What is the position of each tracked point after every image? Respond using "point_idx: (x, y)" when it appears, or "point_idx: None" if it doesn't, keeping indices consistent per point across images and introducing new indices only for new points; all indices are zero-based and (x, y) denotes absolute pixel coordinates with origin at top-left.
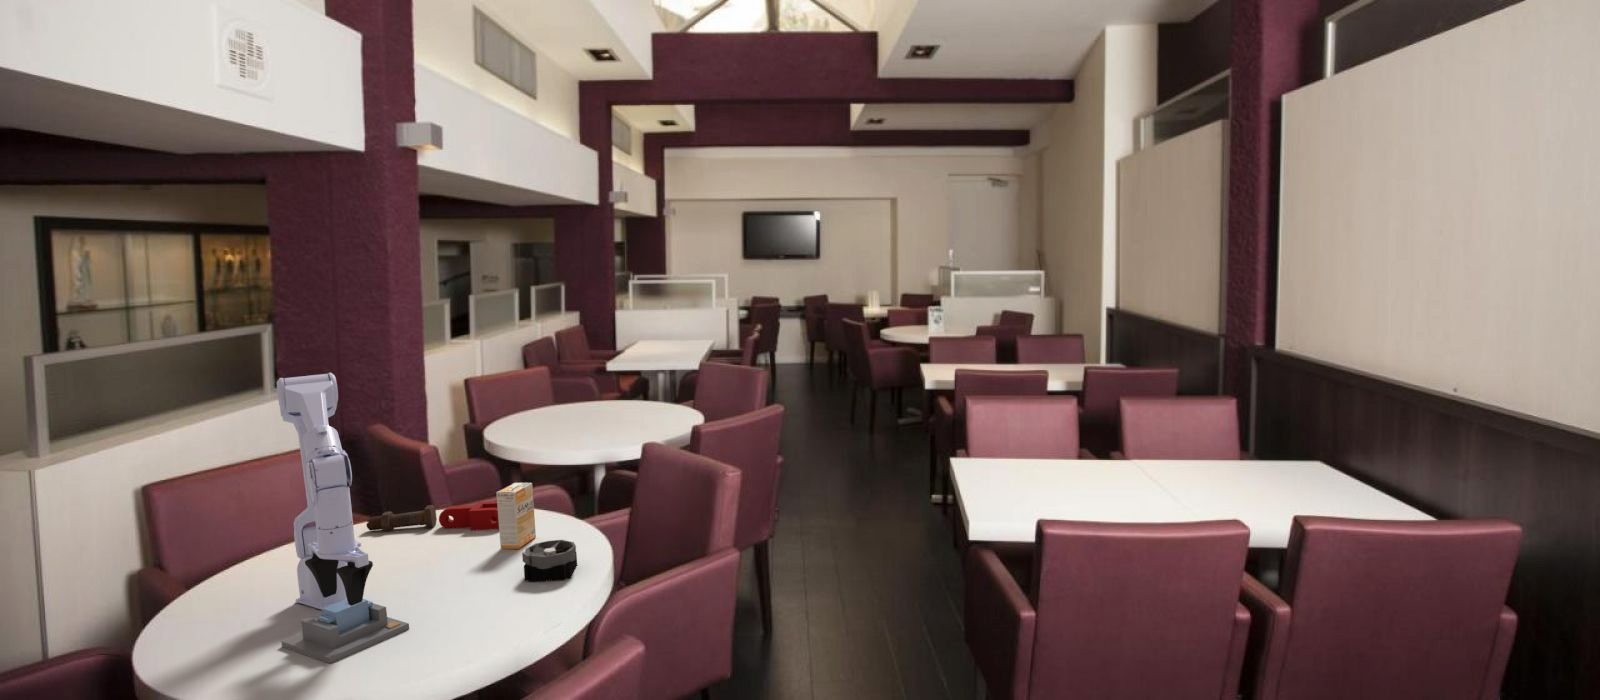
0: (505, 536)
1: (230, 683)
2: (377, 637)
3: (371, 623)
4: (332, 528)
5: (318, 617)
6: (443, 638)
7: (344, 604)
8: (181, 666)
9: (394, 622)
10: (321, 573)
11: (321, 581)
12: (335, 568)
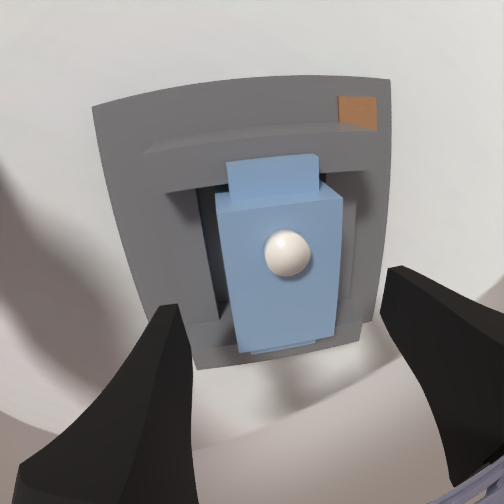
0: None
1: (262, 420)
2: (388, 195)
3: (354, 191)
4: None
5: (255, 351)
6: (486, 95)
7: (287, 289)
8: None
9: (352, 100)
10: (187, 466)
11: (186, 425)
12: (154, 420)
